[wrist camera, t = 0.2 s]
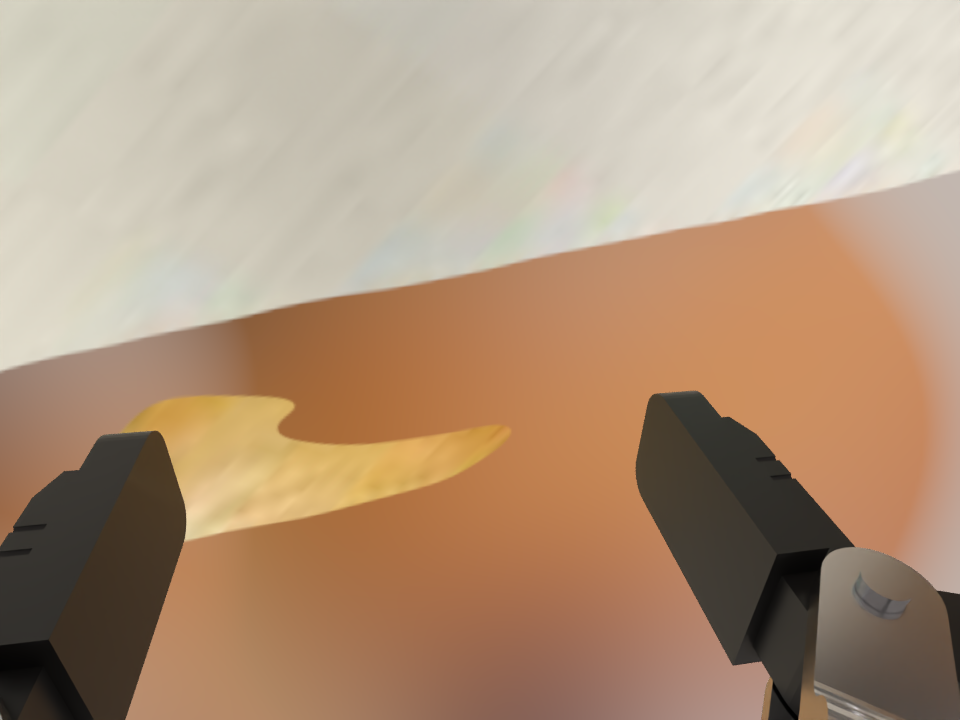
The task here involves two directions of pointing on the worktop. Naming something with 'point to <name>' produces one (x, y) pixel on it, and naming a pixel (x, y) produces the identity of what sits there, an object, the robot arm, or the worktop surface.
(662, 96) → the worktop surface
